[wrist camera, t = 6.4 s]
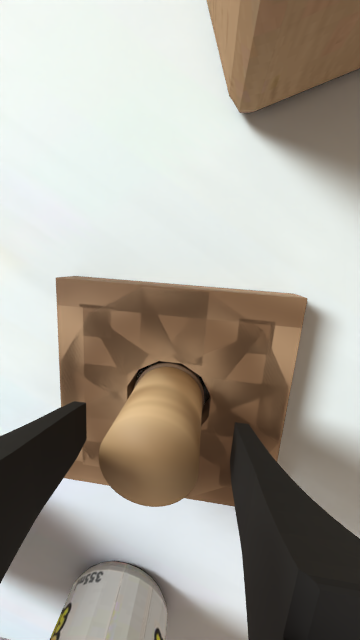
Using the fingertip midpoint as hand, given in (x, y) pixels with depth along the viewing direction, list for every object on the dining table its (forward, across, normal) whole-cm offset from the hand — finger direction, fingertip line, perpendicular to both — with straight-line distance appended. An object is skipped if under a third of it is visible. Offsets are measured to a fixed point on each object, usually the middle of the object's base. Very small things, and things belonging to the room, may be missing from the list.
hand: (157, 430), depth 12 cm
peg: (+4, 0, 0) cm, 5 cm away
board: (+4, 0, 0) cm, 5 cm away
